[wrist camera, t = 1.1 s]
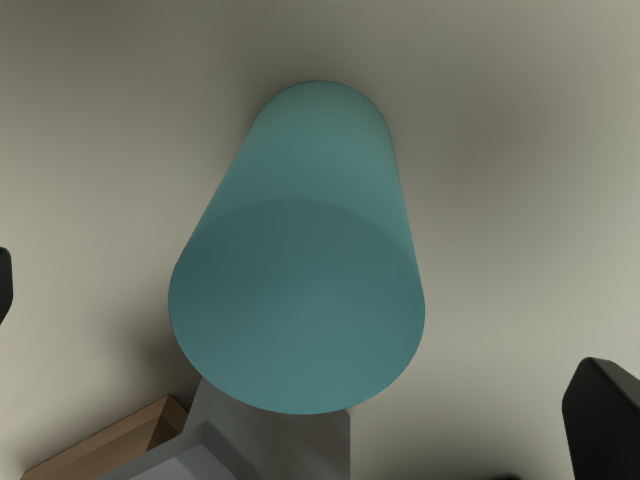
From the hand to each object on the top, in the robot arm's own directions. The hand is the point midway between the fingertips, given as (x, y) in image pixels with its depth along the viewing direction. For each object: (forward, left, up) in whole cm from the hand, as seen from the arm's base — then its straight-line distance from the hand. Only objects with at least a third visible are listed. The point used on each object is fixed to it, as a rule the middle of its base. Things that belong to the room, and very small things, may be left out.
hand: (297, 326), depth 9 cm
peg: (0, 0, -8) cm, 8 cm away
